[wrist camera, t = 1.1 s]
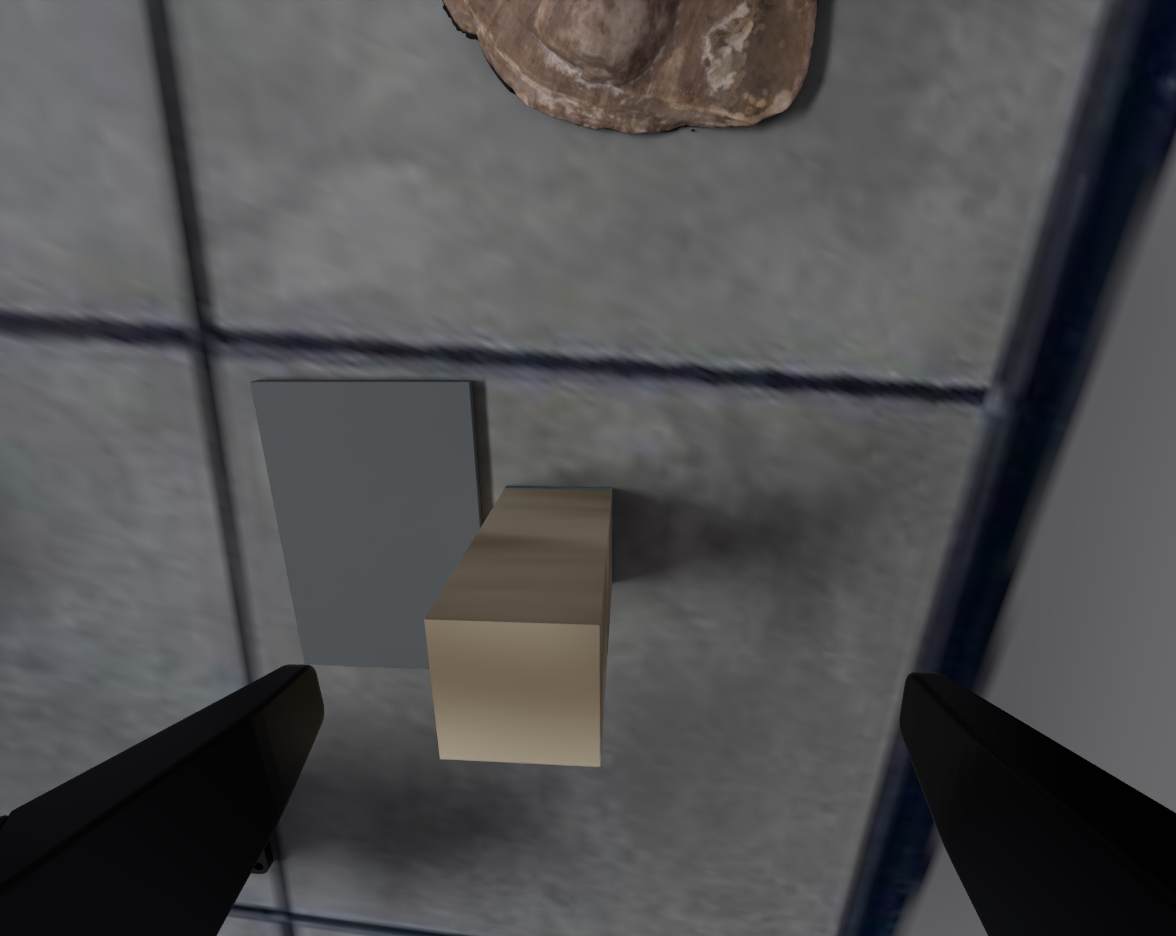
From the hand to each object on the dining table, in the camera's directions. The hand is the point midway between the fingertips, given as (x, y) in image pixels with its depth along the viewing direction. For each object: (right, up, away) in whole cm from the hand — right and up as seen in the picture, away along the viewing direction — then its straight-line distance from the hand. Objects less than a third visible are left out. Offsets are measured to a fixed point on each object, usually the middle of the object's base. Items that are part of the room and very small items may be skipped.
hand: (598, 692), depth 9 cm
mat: (-8, +1, +14) cm, 16 cm away
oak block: (-1, +1, +13) cm, 13 cm away
